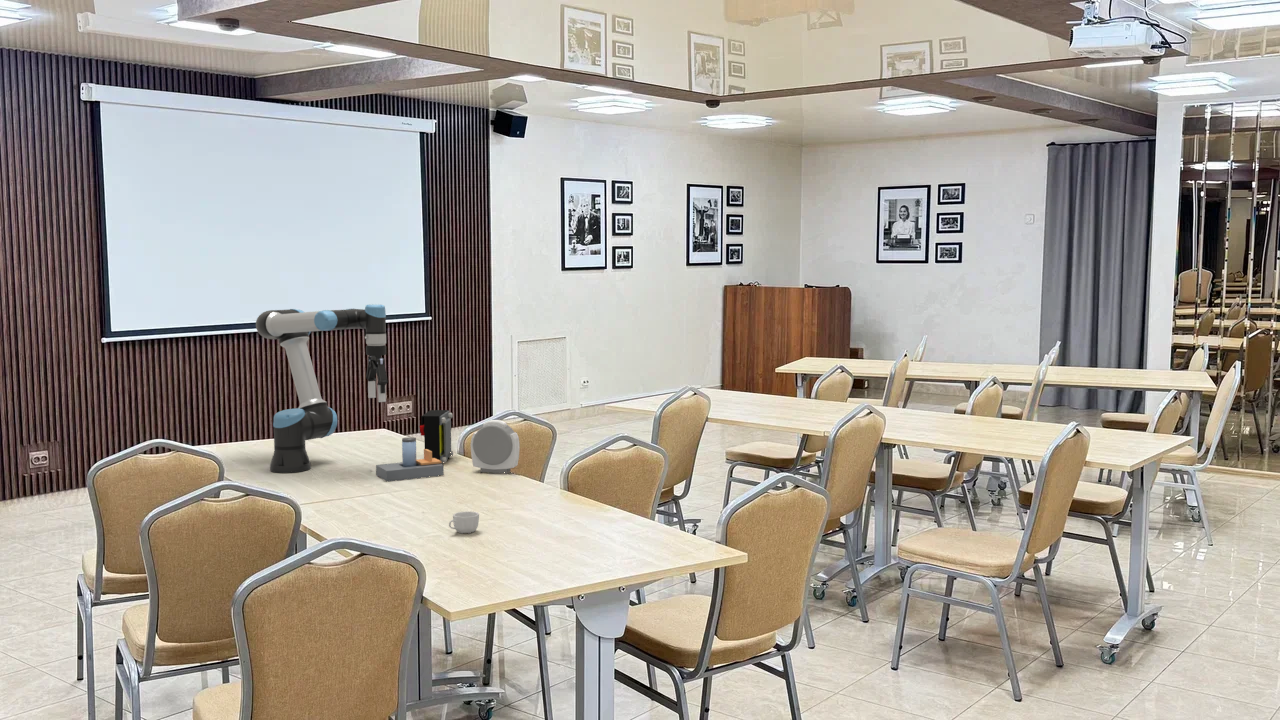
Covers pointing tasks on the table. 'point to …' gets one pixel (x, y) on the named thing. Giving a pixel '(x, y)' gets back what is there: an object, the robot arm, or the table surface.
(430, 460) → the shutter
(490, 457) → the alarm clock
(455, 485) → the table surface
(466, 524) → the teacup
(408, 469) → the socket block
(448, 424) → the electrical component
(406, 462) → the blue canister
